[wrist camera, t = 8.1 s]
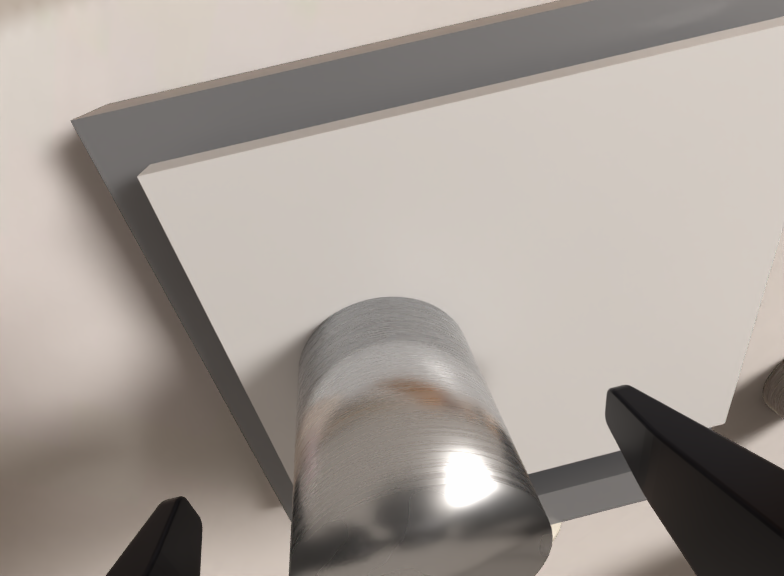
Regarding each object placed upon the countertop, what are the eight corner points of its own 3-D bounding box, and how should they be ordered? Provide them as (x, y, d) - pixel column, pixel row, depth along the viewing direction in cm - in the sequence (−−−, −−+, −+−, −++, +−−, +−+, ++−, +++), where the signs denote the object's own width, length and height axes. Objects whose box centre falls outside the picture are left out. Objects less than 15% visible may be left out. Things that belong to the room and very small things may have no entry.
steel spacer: (475, 407, 13) (552, 598, 9) (324, 444, 13) (328, 655, 9) (458, 277, 11) (553, 453, 6) (274, 321, 11) (247, 529, 6)
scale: (676, 401, 20) (762, 493, 16) (303, 496, 20) (300, 614, 16) (769, -48, 12) (1000, -79, 8) (107, 104, 11) (-4, 153, 7)
